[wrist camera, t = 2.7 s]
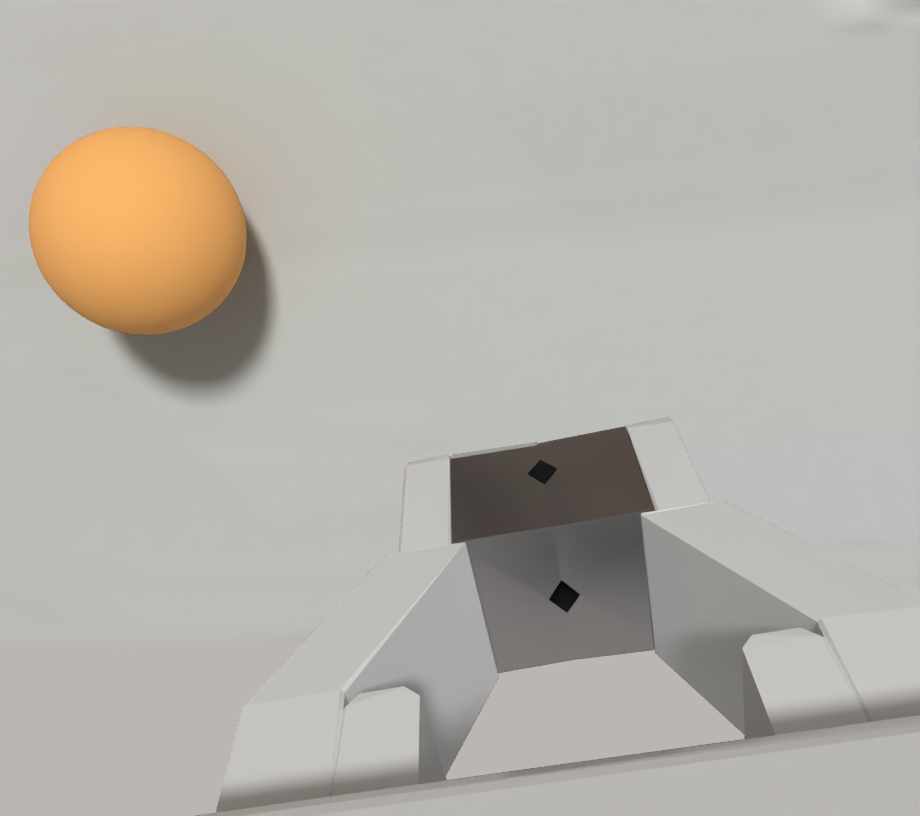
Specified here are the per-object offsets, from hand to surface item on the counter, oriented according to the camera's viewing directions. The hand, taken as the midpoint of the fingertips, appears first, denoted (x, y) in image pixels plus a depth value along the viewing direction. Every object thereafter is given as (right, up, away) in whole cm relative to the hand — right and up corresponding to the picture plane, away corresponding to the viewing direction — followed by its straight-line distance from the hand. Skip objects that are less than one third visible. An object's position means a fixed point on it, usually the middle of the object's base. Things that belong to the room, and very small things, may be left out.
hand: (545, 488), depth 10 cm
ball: (-10, +6, +13) cm, 17 cm away
